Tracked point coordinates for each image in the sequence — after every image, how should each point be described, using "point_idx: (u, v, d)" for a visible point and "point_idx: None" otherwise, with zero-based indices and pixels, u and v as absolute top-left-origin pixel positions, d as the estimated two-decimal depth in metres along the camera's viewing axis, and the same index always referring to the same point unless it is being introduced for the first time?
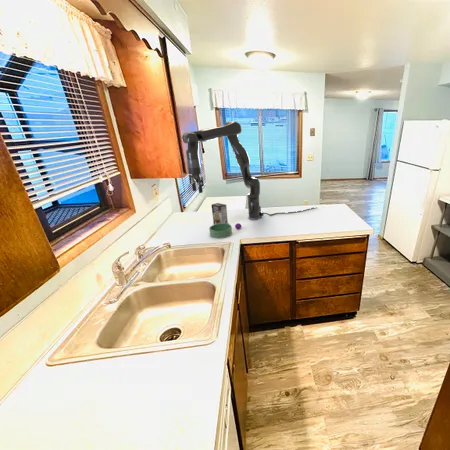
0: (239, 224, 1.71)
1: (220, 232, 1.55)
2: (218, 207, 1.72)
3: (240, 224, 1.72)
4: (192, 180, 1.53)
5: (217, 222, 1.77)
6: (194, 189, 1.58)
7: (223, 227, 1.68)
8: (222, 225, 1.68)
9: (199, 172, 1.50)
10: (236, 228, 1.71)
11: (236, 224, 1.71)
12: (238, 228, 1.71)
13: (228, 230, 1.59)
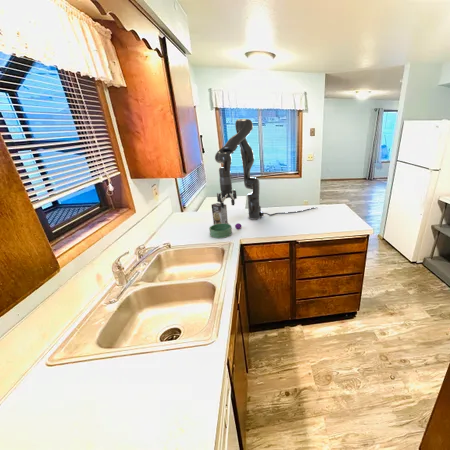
0: (239, 224, 1.71)
1: (220, 232, 1.55)
2: (218, 207, 1.72)
3: (240, 224, 1.72)
4: None
5: (217, 222, 1.77)
6: (232, 203, 1.68)
7: (223, 227, 1.68)
8: (222, 225, 1.68)
9: (222, 189, 1.58)
10: (236, 228, 1.71)
11: (236, 224, 1.71)
12: (238, 228, 1.71)
13: (228, 230, 1.59)
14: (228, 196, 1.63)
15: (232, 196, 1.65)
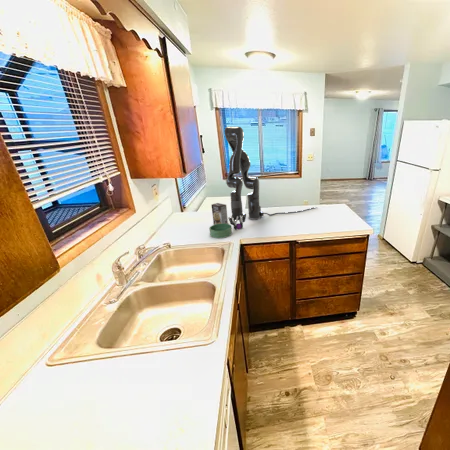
0: (239, 224, 1.71)
1: (220, 232, 1.55)
2: (218, 207, 1.72)
3: (240, 224, 1.72)
4: None
5: (217, 222, 1.77)
6: None
7: (223, 227, 1.68)
8: (222, 225, 1.68)
9: (233, 212, 1.65)
10: None
11: (236, 224, 1.71)
12: (238, 228, 1.71)
13: (228, 230, 1.59)
14: (239, 218, 1.70)
15: (241, 219, 1.71)
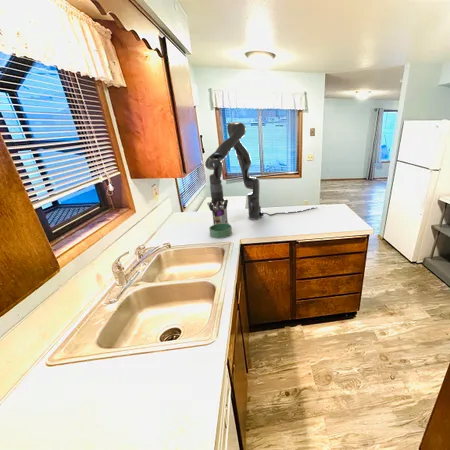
0: (220, 211, 1.57)
1: (220, 232, 1.55)
2: (218, 207, 1.72)
3: (221, 211, 1.58)
4: None
5: (217, 222, 1.77)
6: None
7: (223, 227, 1.68)
8: (222, 225, 1.68)
9: (212, 196, 1.51)
10: None
11: (216, 211, 1.56)
12: (219, 215, 1.56)
13: (228, 230, 1.59)
14: (219, 204, 1.55)
15: (222, 205, 1.57)
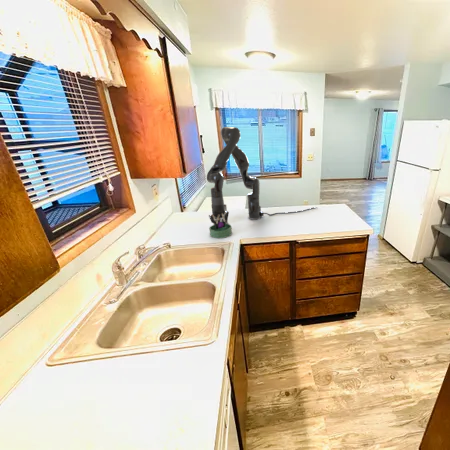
0: (221, 222, 1.59)
1: (220, 232, 1.55)
2: None
3: None
4: None
5: None
6: None
7: (223, 227, 1.68)
8: None
9: (214, 209, 1.54)
10: (218, 227, 1.59)
11: (218, 222, 1.59)
12: (220, 227, 1.59)
13: (228, 230, 1.59)
14: (220, 216, 1.58)
15: (223, 217, 1.60)
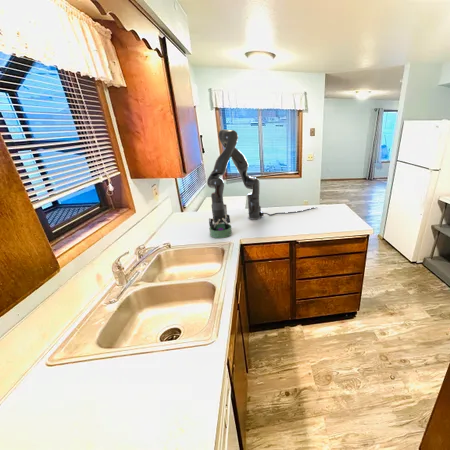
0: (222, 228, 1.61)
1: (220, 232, 1.55)
2: None
3: None
4: None
5: None
6: (225, 228, 1.65)
7: (223, 227, 1.68)
8: (222, 225, 1.68)
9: (214, 214, 1.55)
10: None
11: None
12: None
13: (228, 230, 1.59)
14: (221, 221, 1.60)
15: (225, 221, 1.61)
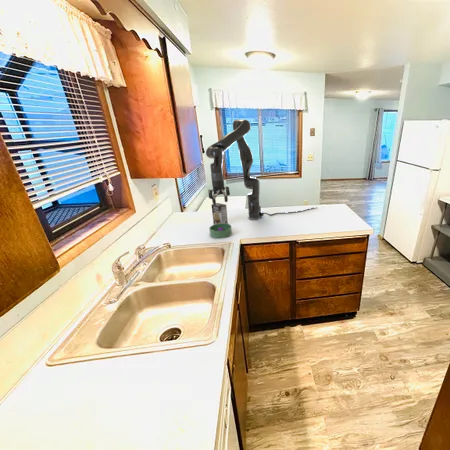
0: (222, 228, 1.61)
1: (220, 232, 1.55)
2: (218, 207, 1.72)
3: None
4: None
5: (217, 222, 1.77)
6: (225, 200, 1.64)
7: (223, 227, 1.68)
8: (222, 225, 1.68)
9: (214, 185, 1.53)
10: None
11: None
12: None
13: (228, 230, 1.59)
14: (220, 192, 1.58)
15: None
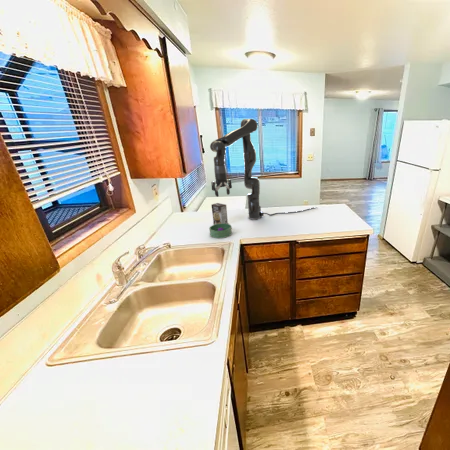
0: (222, 228, 1.61)
1: (220, 232, 1.55)
2: (218, 207, 1.72)
3: None
4: None
5: (217, 222, 1.77)
6: (227, 193, 1.71)
7: (223, 227, 1.68)
8: (222, 225, 1.68)
9: (216, 177, 1.60)
10: None
11: None
12: None
13: (228, 230, 1.59)
14: (223, 185, 1.65)
15: (227, 185, 1.67)
